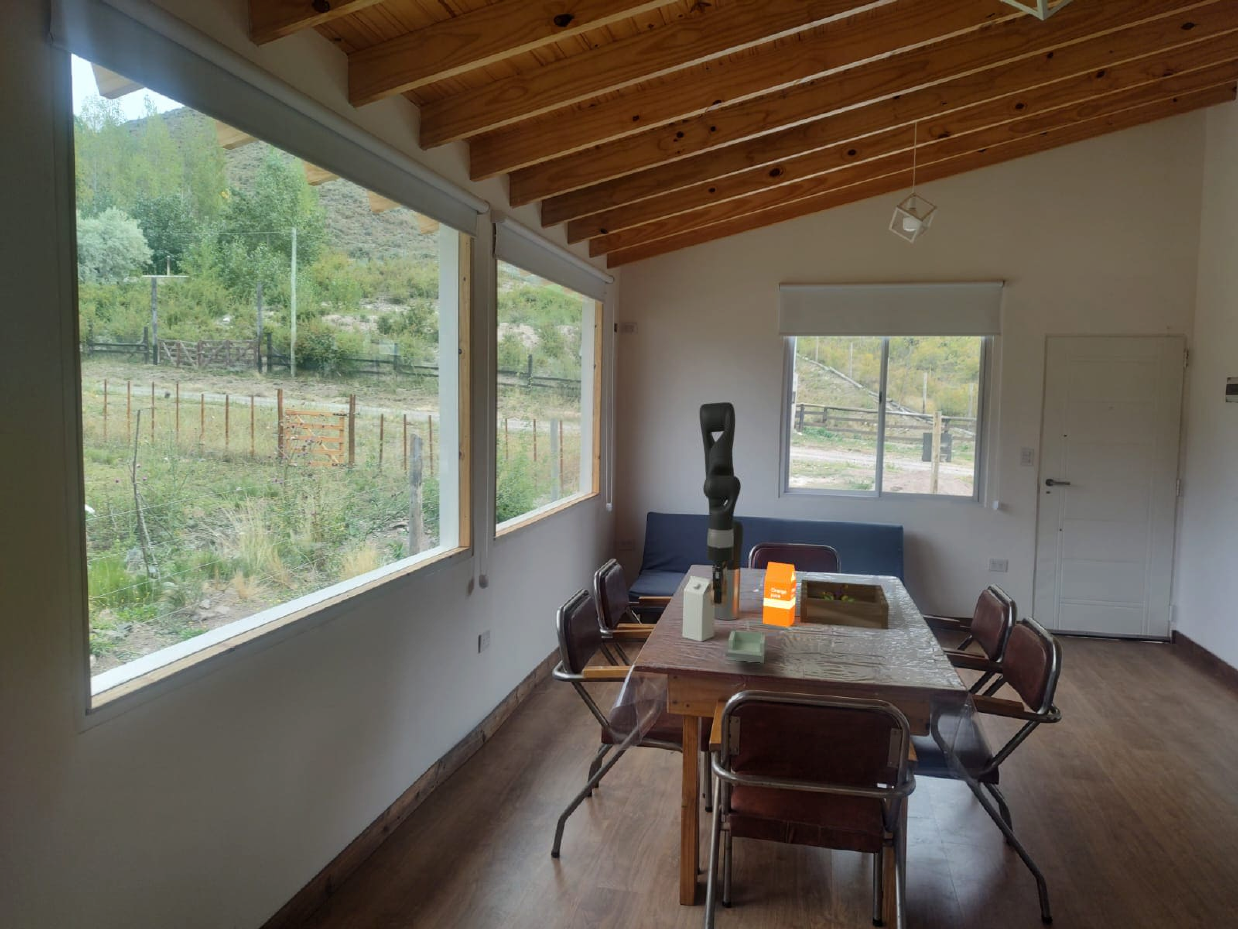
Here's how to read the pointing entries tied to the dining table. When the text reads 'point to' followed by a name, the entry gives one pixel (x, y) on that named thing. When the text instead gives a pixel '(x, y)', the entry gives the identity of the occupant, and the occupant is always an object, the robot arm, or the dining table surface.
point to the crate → (747, 643)
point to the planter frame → (844, 605)
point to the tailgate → (744, 654)
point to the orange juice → (779, 594)
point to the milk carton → (698, 610)
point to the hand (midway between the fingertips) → (718, 600)
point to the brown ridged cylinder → (724, 593)
